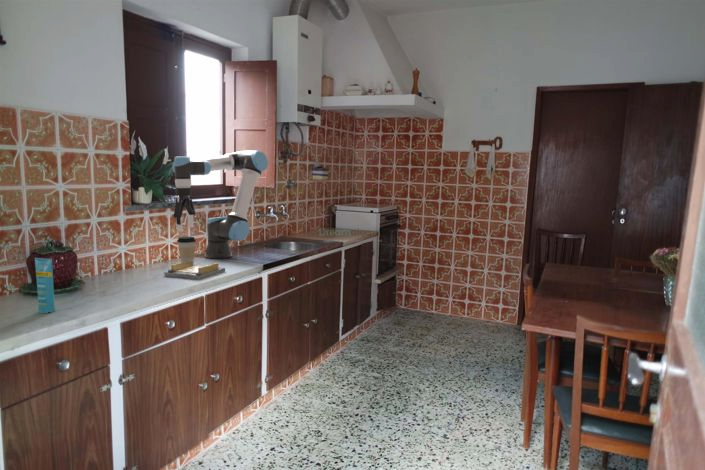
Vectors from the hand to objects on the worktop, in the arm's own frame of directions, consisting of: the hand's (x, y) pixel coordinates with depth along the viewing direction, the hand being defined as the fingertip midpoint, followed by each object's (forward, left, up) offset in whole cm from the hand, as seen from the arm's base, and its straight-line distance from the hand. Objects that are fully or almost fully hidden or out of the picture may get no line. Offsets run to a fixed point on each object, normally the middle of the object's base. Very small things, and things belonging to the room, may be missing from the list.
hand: (185, 229), depth 248 cm
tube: (+83, +7, -20) cm, 85 cm away
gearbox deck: (+11, +14, -20) cm, 27 cm away
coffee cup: (-4, -3, -20) cm, 21 cm away
